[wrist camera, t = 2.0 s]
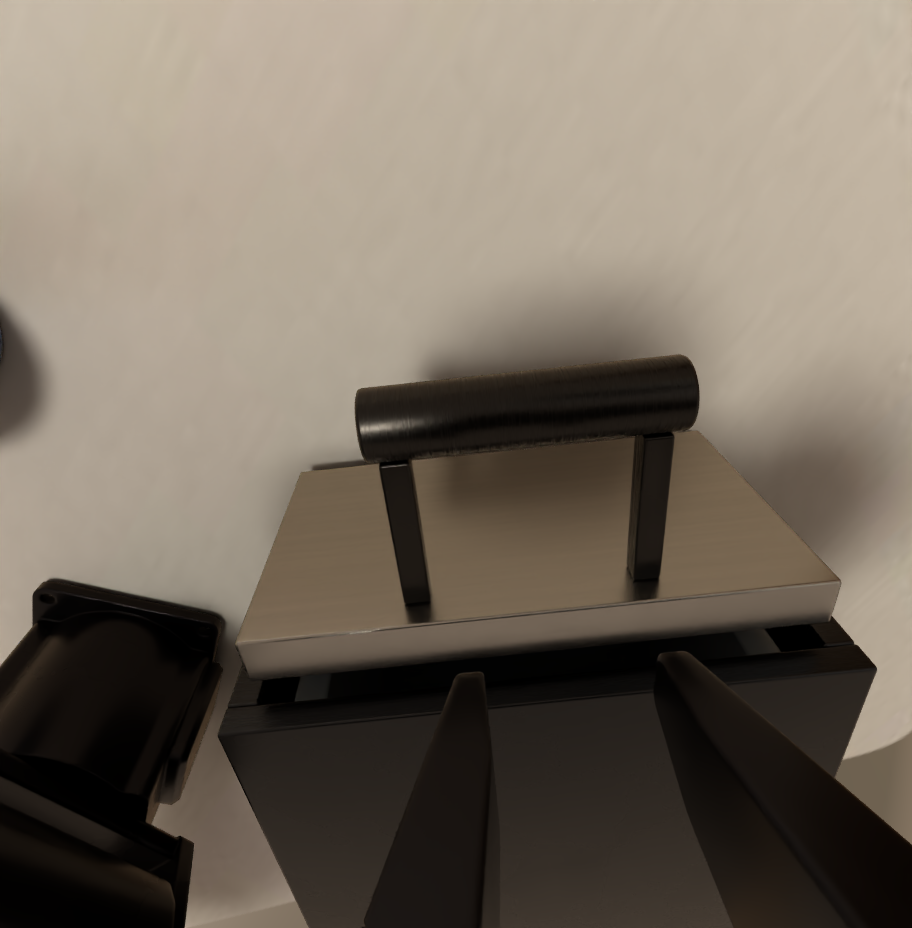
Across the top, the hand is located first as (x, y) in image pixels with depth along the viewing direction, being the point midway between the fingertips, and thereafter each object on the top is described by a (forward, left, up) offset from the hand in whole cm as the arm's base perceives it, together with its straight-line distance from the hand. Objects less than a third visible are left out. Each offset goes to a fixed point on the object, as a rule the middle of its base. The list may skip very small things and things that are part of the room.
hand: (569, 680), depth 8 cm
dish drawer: (+2, -5, -10) cm, 11 cm away
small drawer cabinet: (+4, -9, -11) cm, 15 cm away
